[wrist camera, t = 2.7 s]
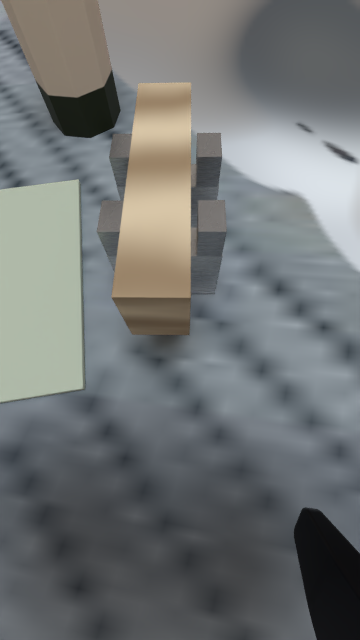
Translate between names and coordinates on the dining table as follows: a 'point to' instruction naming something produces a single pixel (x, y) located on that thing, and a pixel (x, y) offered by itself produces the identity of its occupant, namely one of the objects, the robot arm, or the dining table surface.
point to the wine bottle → (68, 62)
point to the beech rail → (157, 215)
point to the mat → (41, 291)
